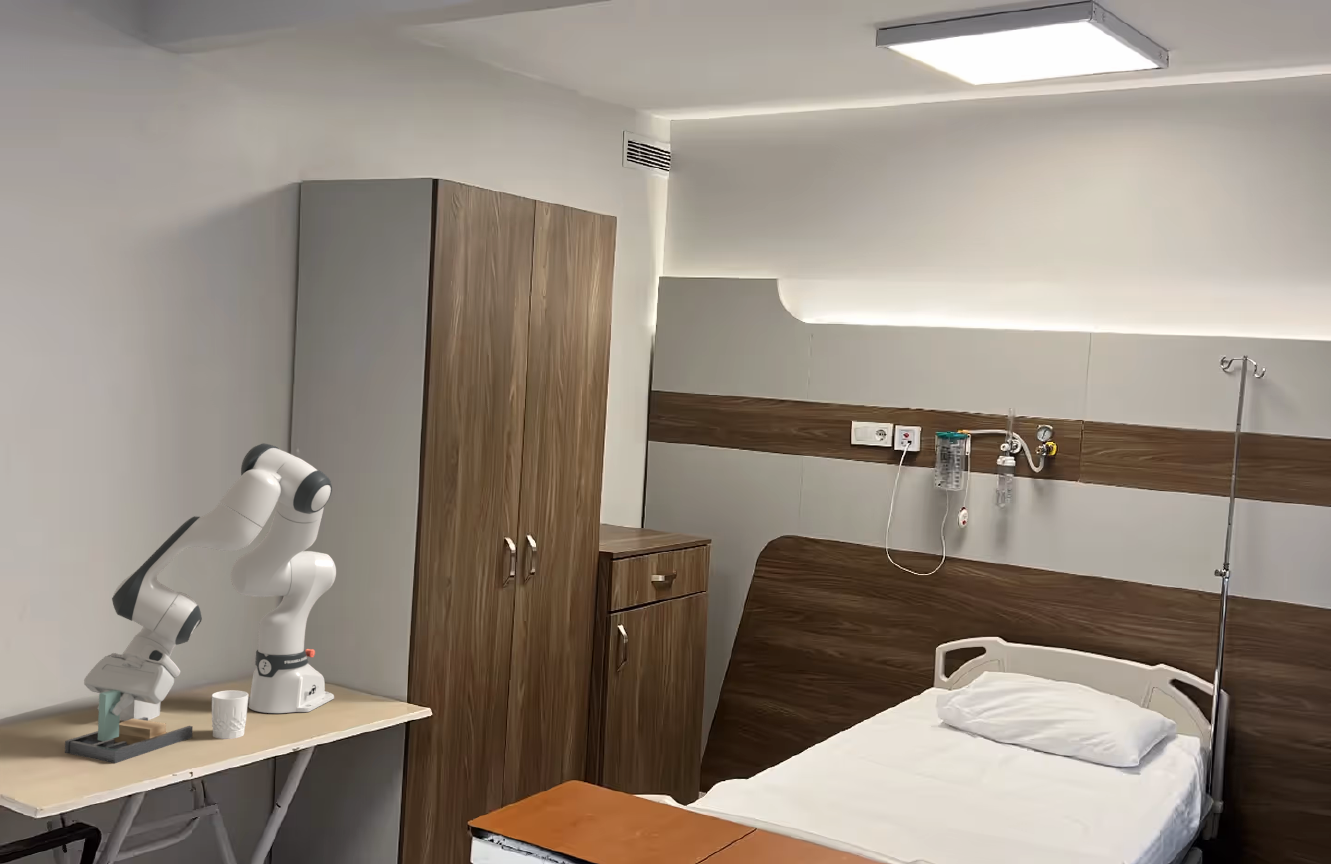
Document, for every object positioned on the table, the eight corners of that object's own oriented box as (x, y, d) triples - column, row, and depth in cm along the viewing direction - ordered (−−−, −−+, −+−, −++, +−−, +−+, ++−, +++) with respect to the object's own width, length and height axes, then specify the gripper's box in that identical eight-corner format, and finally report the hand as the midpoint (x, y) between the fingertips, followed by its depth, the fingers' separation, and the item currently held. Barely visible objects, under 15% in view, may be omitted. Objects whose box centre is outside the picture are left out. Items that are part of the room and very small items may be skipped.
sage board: (112, 735, 264) (114, 689, 263) (118, 736, 263) (120, 690, 262) (97, 739, 260) (99, 693, 259) (104, 741, 259) (105, 694, 259)
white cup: (209, 734, 280) (211, 690, 280) (245, 732, 283) (247, 689, 283) (210, 744, 273) (212, 699, 273) (247, 741, 276) (249, 698, 276)
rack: (144, 731, 280) (144, 717, 279) (191, 740, 274) (192, 726, 274) (64, 756, 259) (65, 740, 259) (114, 767, 254) (115, 751, 254)
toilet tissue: (143, 709, 297) (145, 668, 297) (172, 719, 290) (174, 677, 290) (101, 717, 288) (103, 675, 288) (131, 728, 282) (132, 685, 281)
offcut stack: (133, 734, 274) (134, 716, 274) (168, 741, 270) (169, 723, 270) (111, 741, 268) (112, 723, 268) (146, 748, 265) (147, 730, 264)
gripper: (101, 644, 271) (62, 697, 262) (172, 656, 263) (135, 712, 255) (116, 660, 275) (78, 713, 267) (186, 673, 268) (150, 728, 259)
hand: (107, 712), depth 261 cm, fingers closed on sage board, 2 cm apart
